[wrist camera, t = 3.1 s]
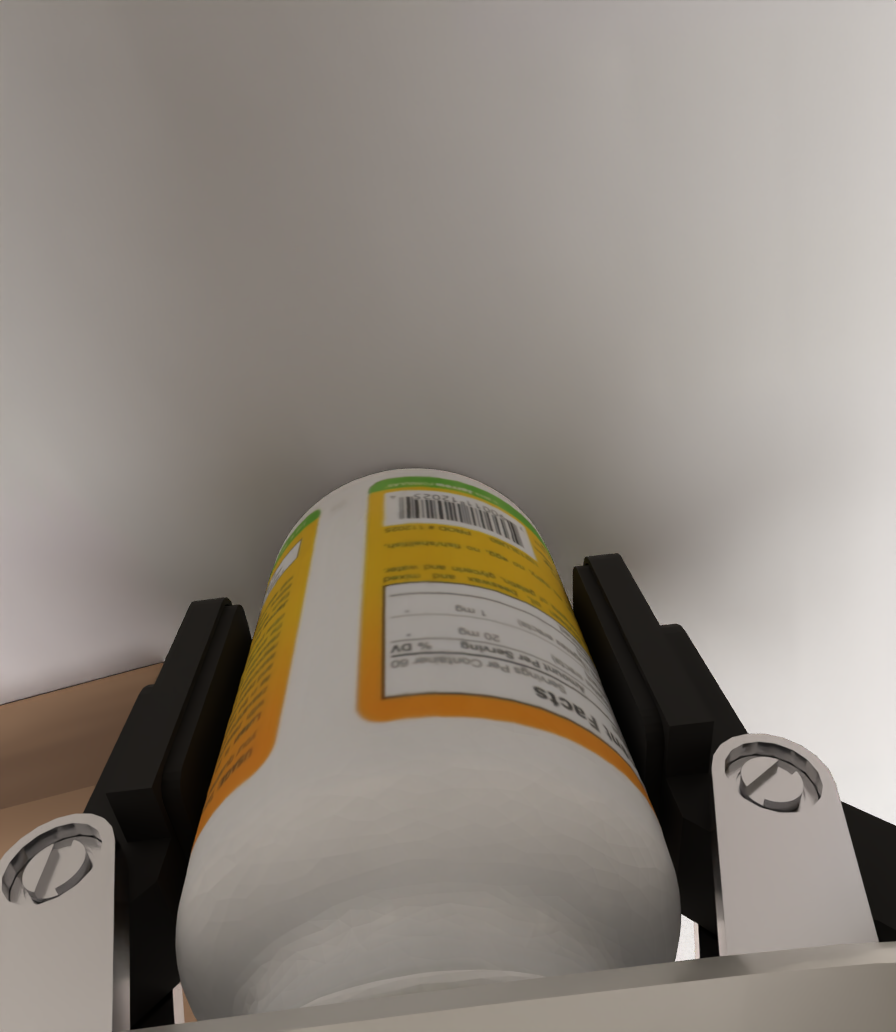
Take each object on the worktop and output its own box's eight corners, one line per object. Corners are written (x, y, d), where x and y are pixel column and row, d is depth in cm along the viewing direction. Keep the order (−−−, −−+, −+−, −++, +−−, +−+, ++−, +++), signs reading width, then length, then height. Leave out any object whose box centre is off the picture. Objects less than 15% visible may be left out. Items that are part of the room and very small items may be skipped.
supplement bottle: (355, 731, 15) (306, 1488, 7) (216, 534, 13) (-148, 1314, 4) (589, 637, 14) (880, 1347, 6) (488, 411, 12) (729, 1043, 3)
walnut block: (-378, 806, 15) (-548, 950, 12) (162, 662, 14) (108, 781, 11) (-45, 1084, 20) (-112, 1226, 18) (355, 991, 19) (349, 1124, 17)
